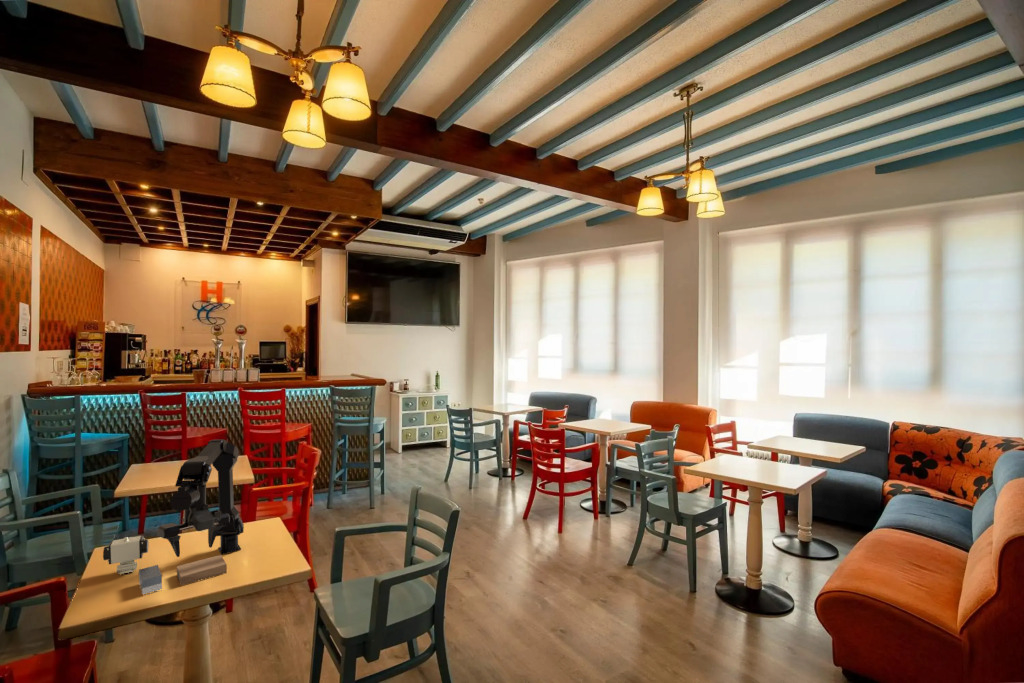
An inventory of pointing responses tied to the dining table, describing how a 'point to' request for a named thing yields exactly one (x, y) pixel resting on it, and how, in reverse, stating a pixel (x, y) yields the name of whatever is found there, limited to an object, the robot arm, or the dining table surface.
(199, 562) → the walnut stand
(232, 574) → the dining table surface
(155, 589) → the block
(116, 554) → the pneumatic valve
